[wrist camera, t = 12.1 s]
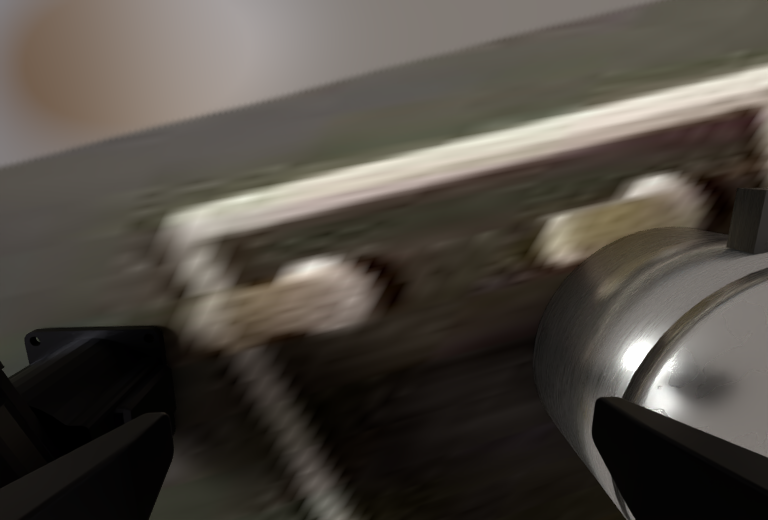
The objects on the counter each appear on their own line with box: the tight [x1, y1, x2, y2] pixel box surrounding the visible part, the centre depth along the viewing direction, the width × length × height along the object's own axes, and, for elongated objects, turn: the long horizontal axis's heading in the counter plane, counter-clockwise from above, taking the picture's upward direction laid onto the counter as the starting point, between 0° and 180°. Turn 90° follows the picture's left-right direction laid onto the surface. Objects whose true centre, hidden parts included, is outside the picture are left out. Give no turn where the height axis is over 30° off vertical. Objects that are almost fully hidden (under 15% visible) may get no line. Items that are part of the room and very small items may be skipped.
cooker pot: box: [533, 188, 768, 519], centre depth 20 cm, size 14×19×7 cm
